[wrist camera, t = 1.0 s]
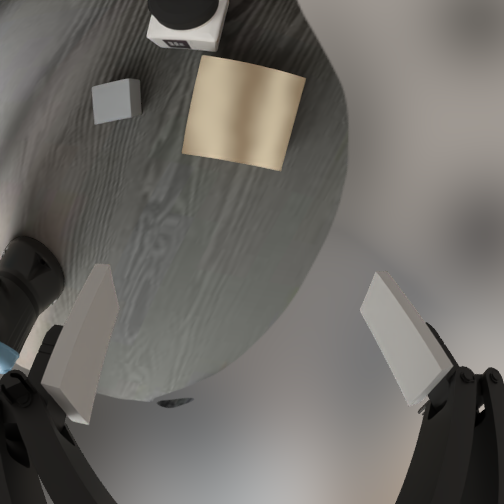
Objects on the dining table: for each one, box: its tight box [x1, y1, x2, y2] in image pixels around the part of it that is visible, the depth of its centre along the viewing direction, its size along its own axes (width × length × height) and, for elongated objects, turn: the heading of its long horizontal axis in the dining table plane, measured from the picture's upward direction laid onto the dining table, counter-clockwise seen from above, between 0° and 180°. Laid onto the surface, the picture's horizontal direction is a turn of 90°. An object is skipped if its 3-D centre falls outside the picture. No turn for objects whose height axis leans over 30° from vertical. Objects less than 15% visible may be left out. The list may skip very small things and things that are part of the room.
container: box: [147, 0, 229, 52], centre depth 21 cm, size 8×8×13 cm
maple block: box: [182, 55, 306, 171], centre depth 32 cm, size 12×12×6 cm
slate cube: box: [92, 78, 142, 125], centre depth 29 cm, size 5×5×5 cm
